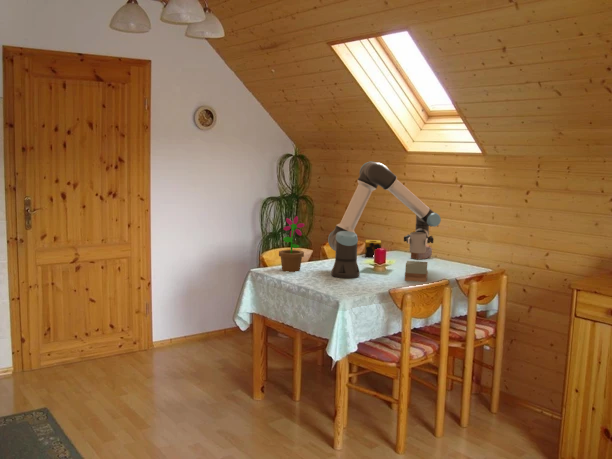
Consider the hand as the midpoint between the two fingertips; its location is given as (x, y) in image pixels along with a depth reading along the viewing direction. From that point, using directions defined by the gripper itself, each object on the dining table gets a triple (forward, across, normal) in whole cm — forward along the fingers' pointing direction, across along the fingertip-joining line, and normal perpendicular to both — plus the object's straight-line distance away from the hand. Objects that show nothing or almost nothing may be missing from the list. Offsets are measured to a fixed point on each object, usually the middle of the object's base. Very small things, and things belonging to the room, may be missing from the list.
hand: (417, 242), depth 332 cm
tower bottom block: (-4, 0, -21) cm, 22 cm away
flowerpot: (-3, +69, -21) cm, 72 cm away
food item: (-69, +2, -21) cm, 72 cm away
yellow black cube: (-63, +32, -21) cm, 74 cm away
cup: (-5, 0, -6) cm, 8 cm away
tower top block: (-4, 0, -17) cm, 17 cm away
